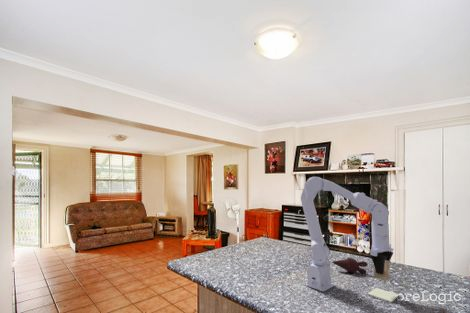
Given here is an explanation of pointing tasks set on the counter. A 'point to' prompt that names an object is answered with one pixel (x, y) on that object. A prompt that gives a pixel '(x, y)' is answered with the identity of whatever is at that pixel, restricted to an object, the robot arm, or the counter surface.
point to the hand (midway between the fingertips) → (382, 272)
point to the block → (385, 274)
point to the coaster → (383, 295)
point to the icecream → (351, 265)
